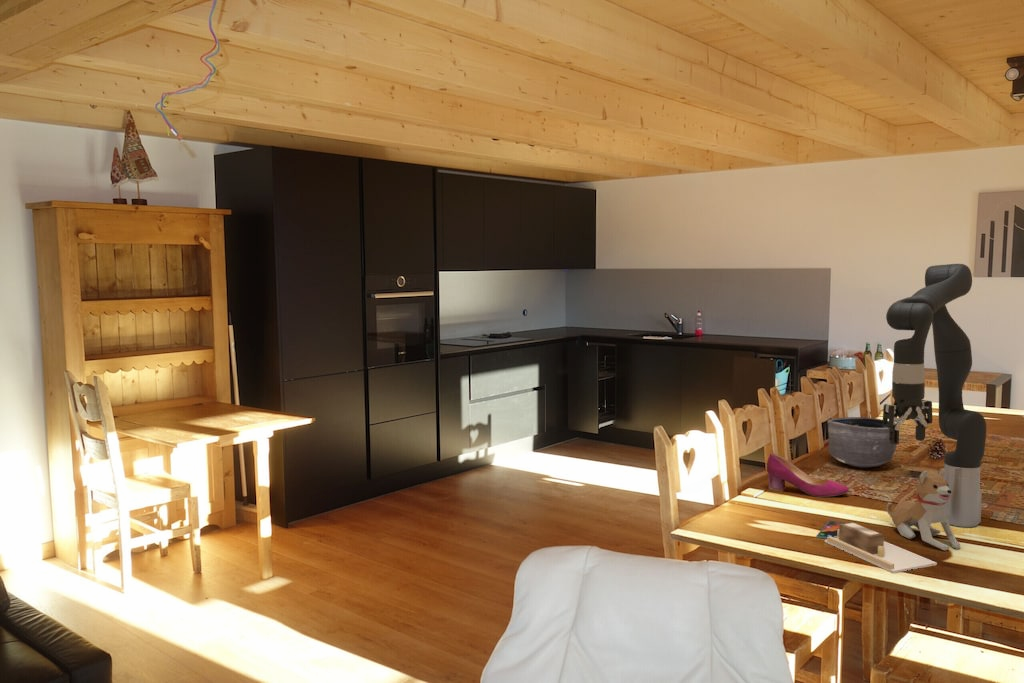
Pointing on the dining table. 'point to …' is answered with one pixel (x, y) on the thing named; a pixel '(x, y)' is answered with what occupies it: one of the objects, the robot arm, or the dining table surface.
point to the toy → (925, 510)
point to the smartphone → (829, 530)
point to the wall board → (885, 556)
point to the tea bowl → (860, 441)
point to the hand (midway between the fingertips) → (907, 442)
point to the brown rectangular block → (861, 537)
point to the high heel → (800, 479)
